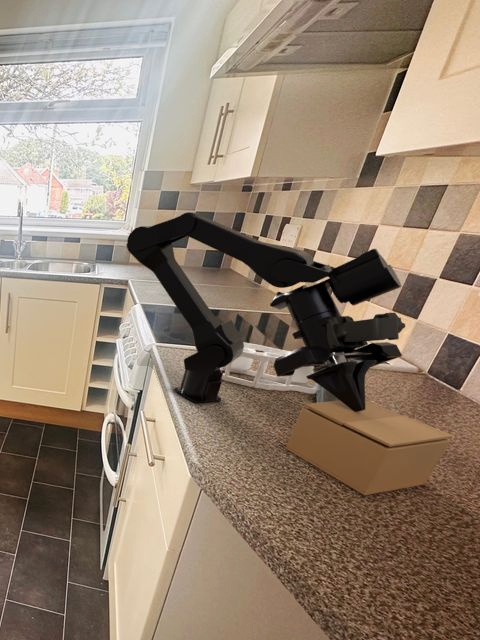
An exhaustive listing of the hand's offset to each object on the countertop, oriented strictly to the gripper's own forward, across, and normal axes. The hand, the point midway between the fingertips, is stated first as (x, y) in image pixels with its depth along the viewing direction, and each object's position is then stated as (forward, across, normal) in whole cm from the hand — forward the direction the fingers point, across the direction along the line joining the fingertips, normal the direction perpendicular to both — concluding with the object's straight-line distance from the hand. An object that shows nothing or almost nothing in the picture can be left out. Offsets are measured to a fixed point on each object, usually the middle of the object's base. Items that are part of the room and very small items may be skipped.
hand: (360, 410), depth 63 cm
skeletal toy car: (-14, +15, +26) cm, 33 cm away
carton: (+8, 0, +5) cm, 9 cm away
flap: (0, 0, +1) cm, 1 cm away
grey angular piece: (-5, +21, +18) cm, 28 cm away
